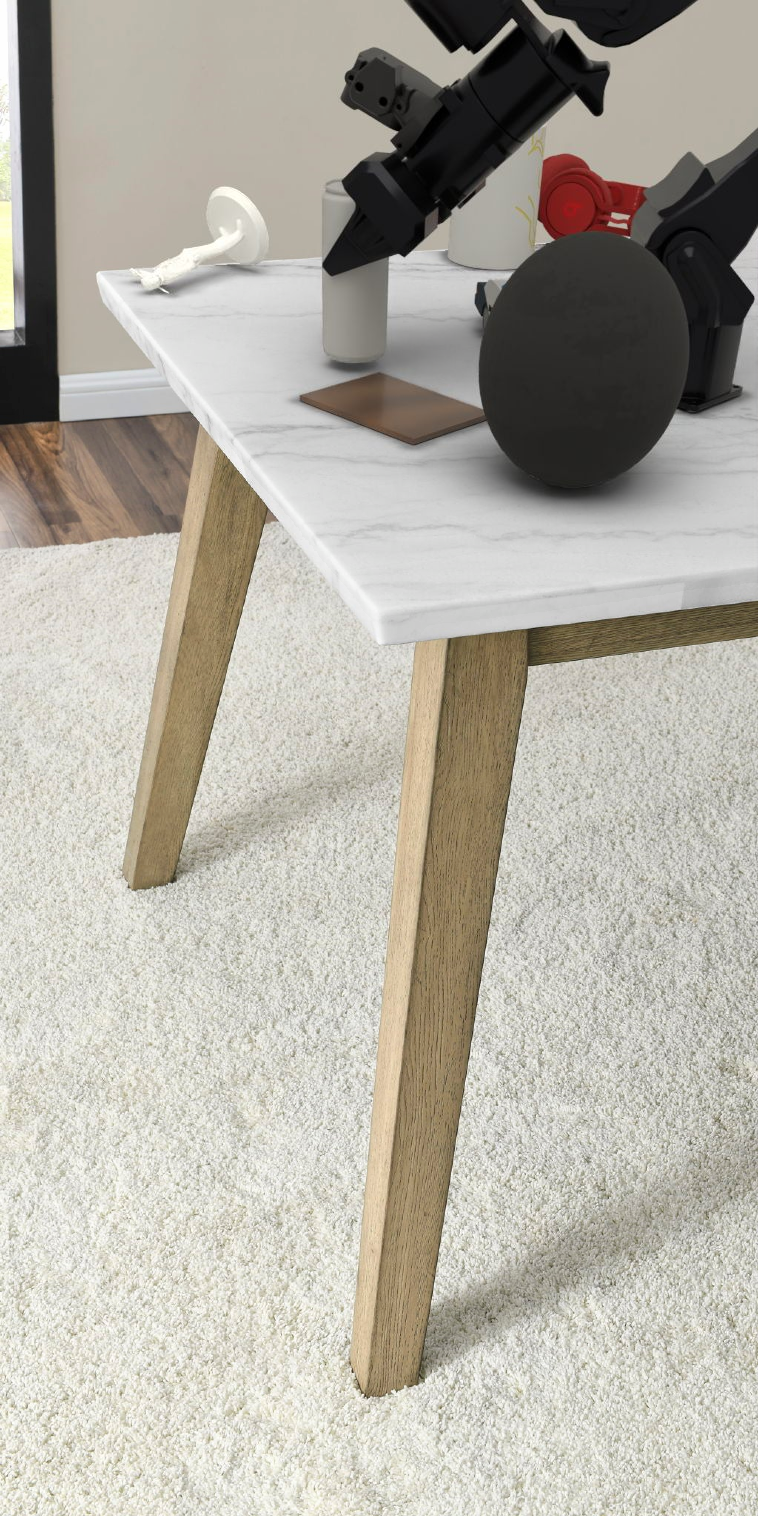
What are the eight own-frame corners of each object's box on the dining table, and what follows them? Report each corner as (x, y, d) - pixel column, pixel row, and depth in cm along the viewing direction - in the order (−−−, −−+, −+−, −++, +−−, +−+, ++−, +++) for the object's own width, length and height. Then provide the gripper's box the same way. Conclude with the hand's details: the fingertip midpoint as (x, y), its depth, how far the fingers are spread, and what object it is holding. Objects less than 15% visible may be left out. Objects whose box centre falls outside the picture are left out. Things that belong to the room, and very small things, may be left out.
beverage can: (331, 367, 102) (332, 193, 96) (314, 347, 106) (314, 178, 100) (394, 362, 104) (400, 190, 97) (375, 343, 107) (379, 176, 101)
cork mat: (492, 417, 97) (493, 412, 97) (413, 445, 92) (413, 439, 92) (378, 377, 103) (379, 371, 103) (299, 400, 99) (299, 394, 98)
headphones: (530, 141, 144) (715, 175, 147) (514, 213, 148) (695, 244, 151) (556, 170, 131) (757, 206, 135) (538, 248, 135) (734, 281, 138)
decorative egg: (486, 435, 94) (507, 200, 86) (672, 458, 92) (712, 219, 84) (453, 506, 84) (473, 247, 76) (661, 533, 82) (704, 271, 74)
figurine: (245, 179, 120) (148, 243, 114) (281, 258, 123) (188, 324, 118) (195, 193, 125) (100, 255, 119) (231, 269, 129) (140, 332, 123)
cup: (536, 271, 130) (550, 131, 124) (448, 267, 130) (457, 127, 124) (530, 249, 137) (543, 115, 130) (446, 245, 137) (455, 111, 130)
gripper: (452, -8, 99) (304, 148, 107) (376, 19, 84) (211, 198, 92) (553, 122, 101) (400, 265, 110) (496, 170, 86) (325, 331, 95)
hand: (337, 262), depth 102 cm, fingers closed on beverage can, 5 cm apart
